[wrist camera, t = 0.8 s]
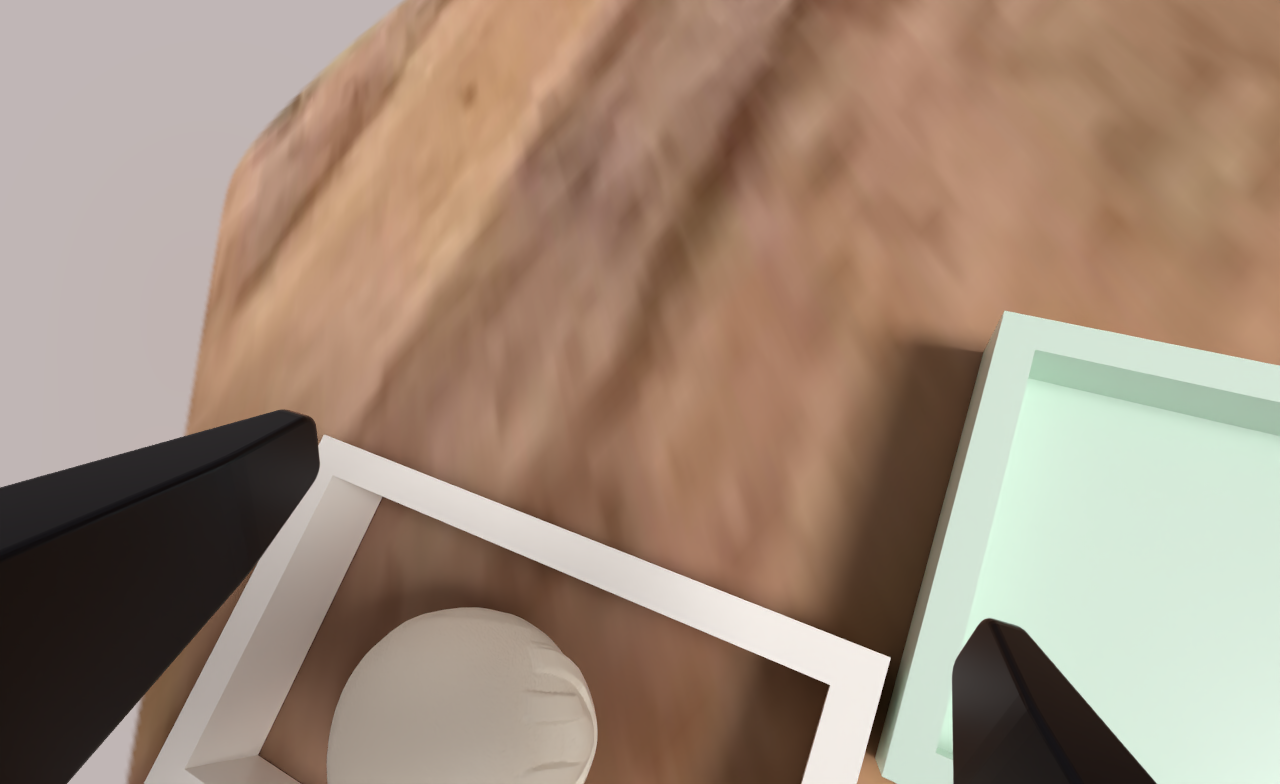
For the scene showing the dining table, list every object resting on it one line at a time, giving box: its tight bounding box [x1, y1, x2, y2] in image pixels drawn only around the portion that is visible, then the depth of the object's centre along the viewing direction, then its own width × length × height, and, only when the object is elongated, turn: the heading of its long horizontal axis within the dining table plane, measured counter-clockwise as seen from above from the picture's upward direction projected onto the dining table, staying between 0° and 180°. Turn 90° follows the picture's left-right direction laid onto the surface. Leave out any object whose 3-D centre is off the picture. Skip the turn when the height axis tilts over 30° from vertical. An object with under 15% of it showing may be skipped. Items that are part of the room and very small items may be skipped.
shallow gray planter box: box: [144, 435, 891, 784], centre depth 21 cm, size 12×20×3 cm, turn 67°
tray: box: [875, 311, 1280, 784], centre depth 17 cm, size 13×13×3 cm
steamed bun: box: [327, 607, 598, 784], centre depth 19 cm, size 7×7×7 cm
